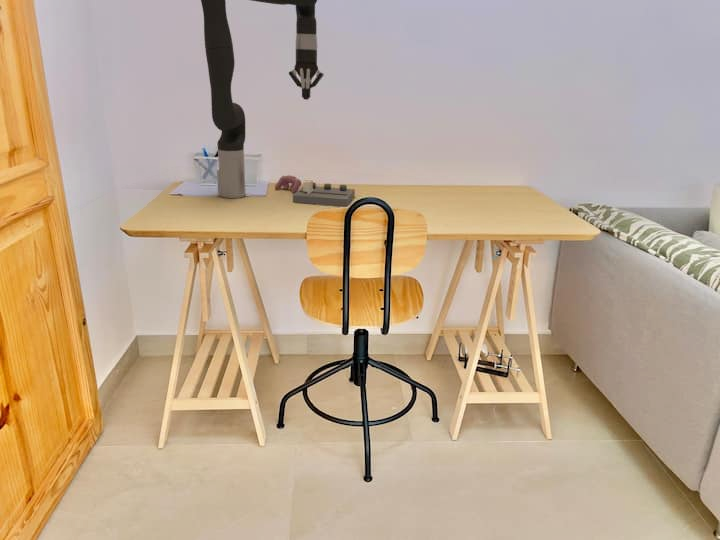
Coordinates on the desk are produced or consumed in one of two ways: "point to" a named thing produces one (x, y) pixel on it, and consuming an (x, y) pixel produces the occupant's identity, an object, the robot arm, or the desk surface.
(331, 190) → the console
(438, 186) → the desk surface
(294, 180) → the maroon arched lump
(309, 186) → the fader knob
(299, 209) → the desk surface
